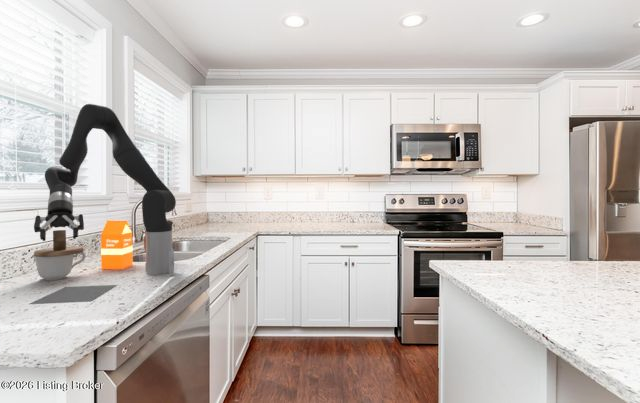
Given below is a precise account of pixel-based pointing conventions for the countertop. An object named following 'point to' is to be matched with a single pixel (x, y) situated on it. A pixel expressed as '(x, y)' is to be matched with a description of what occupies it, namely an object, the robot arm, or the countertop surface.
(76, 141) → the robot arm
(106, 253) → the orange juice
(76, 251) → the walnut lid
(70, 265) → the teacup
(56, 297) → the rubber mat
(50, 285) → the countertop surface
